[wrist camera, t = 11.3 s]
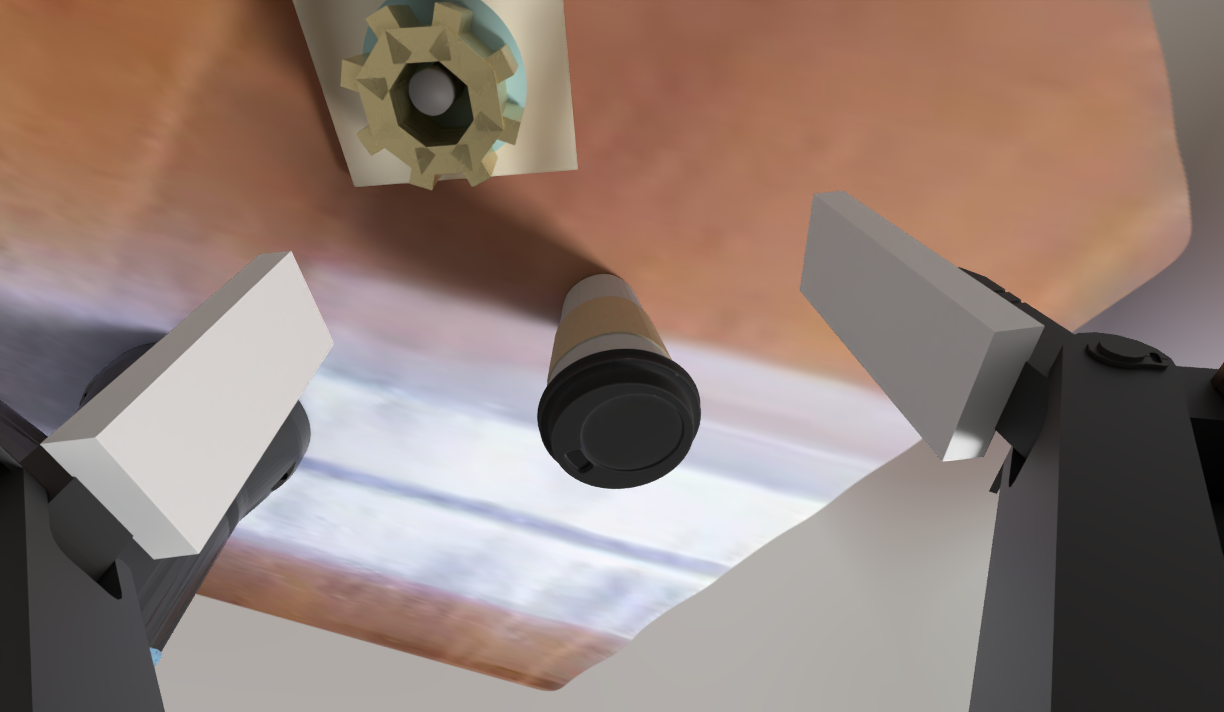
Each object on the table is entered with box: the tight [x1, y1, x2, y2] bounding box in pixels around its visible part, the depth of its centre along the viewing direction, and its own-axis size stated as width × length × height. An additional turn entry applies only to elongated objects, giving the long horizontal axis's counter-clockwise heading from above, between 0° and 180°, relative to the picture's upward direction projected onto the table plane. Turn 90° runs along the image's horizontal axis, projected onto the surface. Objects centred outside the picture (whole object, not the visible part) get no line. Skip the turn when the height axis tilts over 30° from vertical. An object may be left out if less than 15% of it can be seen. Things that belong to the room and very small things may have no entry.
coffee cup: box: [537, 274, 701, 489], centre depth 35 cm, size 9×9×15 cm
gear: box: [340, 2, 524, 190], centre depth 28 cm, size 8×8×5 cm
